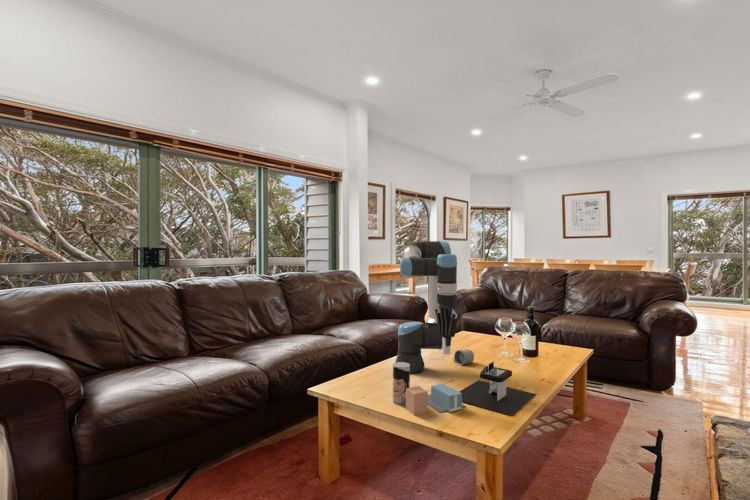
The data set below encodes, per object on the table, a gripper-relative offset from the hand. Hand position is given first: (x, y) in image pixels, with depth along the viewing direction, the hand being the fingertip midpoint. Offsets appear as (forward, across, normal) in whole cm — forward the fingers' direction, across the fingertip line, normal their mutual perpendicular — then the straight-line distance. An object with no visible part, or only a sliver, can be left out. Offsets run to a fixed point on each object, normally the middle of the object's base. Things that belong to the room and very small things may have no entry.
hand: (446, 353), depth 158 cm
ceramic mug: (+21, -41, +40) cm, 61 cm away
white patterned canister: (+21, -10, -14) cm, 27 cm away
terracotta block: (+21, 0, -13) cm, 24 cm away
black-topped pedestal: (+21, +1, +23) cm, 31 cm away
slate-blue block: (+17, +7, 0) cm, 18 cm away
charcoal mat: (+21, -3, 0) cm, 21 cm away
